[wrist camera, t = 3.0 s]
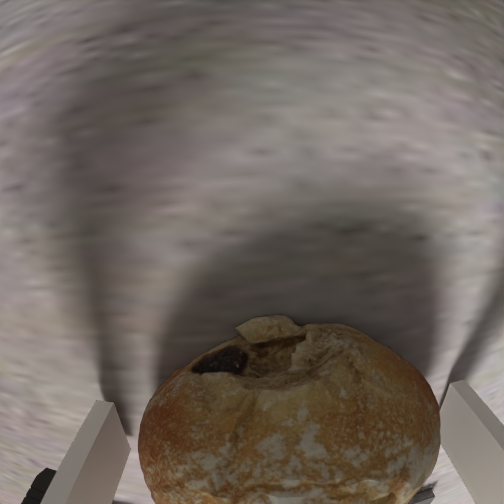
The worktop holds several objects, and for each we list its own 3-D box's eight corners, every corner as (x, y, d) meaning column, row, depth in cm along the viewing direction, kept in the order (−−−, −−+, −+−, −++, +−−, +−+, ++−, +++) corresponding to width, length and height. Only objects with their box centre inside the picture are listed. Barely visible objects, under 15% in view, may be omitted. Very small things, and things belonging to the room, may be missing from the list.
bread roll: (352, 267, 13) (396, 229, 5) (441, 453, 11) (509, 549, 3) (160, 367, 14) (36, 411, 7) (258, 527, 12) (215, 634, 4)
